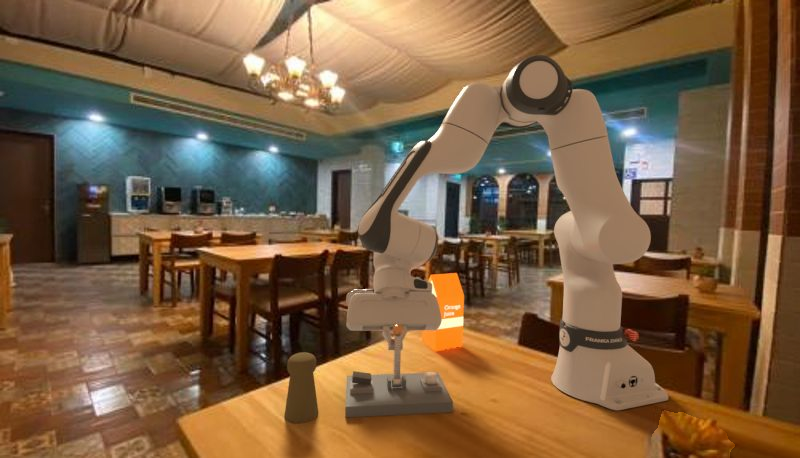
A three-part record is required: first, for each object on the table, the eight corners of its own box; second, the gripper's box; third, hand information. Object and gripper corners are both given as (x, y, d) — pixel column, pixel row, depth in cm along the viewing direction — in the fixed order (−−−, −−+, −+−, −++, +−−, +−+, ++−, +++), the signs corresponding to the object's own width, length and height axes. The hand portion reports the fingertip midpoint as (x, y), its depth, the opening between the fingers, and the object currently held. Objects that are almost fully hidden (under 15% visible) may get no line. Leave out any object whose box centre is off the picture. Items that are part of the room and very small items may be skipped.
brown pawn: (309, 425, 63) (310, 364, 62) (277, 420, 64) (278, 360, 63) (323, 406, 69) (324, 350, 68) (294, 402, 70) (294, 347, 69)
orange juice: (421, 341, 103) (423, 272, 102) (447, 337, 107) (449, 270, 106) (435, 351, 96) (437, 277, 95) (462, 347, 100) (465, 275, 98)
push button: (435, 378, 75) (435, 371, 75) (438, 384, 72) (438, 377, 72) (423, 378, 74) (423, 371, 74) (425, 384, 72) (425, 377, 72)
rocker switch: (369, 379, 73) (370, 373, 73) (370, 385, 71) (371, 379, 71) (352, 376, 72) (353, 371, 72) (352, 382, 70) (353, 376, 70)
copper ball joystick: (401, 383, 74) (403, 322, 73) (403, 389, 71) (404, 326, 71) (389, 383, 74) (391, 322, 73) (391, 389, 71) (392, 326, 70)
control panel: (438, 381, 80) (438, 363, 80) (452, 412, 68) (453, 391, 68) (346, 384, 77) (346, 366, 77) (345, 417, 65) (345, 396, 65)
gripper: (346, 281, 79) (343, 343, 70) (438, 282, 81) (447, 342, 72) (346, 296, 83) (343, 355, 74) (433, 296, 86) (441, 354, 77)
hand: (395, 349), depth 73 cm, fingers closed, pressing on copper ball joystick
